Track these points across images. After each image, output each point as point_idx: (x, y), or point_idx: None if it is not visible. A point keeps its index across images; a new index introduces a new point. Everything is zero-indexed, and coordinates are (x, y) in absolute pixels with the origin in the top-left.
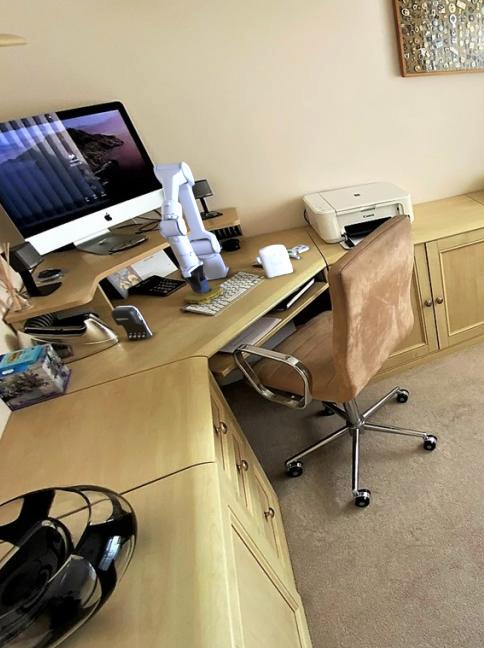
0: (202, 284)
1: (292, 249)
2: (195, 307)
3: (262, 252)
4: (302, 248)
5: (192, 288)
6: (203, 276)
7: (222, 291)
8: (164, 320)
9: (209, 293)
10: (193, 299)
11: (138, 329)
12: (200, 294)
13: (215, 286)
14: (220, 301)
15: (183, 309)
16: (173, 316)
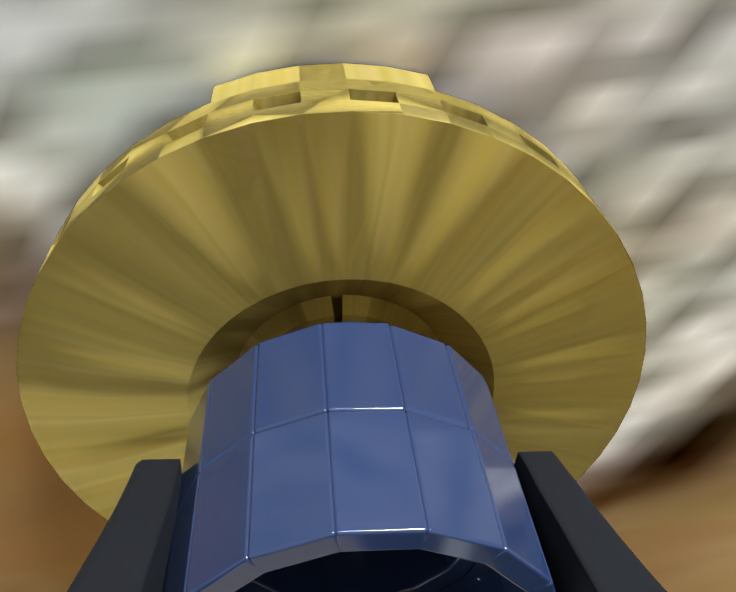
0: (522, 505)
1: None
2: (636, 390)
3: None
4: None
5: (449, 586)
6: (142, 588)
7: (300, 74)
8: (726, 575)
9: (501, 294)
10: (582, 467)
11: None
12: None
13: (186, 233)
14: (704, 73)
15: (589, 490)
16: (699, 533)
